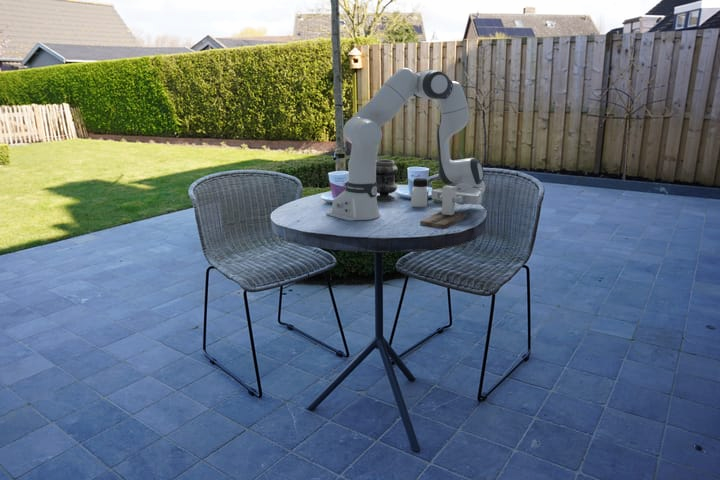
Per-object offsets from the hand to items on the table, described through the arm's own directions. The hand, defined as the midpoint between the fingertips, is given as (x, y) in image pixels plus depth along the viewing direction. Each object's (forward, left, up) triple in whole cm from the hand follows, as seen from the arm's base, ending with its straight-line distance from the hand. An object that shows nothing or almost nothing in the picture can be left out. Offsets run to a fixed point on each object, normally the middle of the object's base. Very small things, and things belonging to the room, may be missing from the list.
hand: (447, 199), depth 195 cm
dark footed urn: (-41, +18, -8) cm, 45 cm away
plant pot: (-17, +28, -8) cm, 34 cm away
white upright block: (0, +1, -6) cm, 6 cm away
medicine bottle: (-21, +16, -8) cm, 28 cm away
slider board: (0, -3, -8) cm, 9 cm away
